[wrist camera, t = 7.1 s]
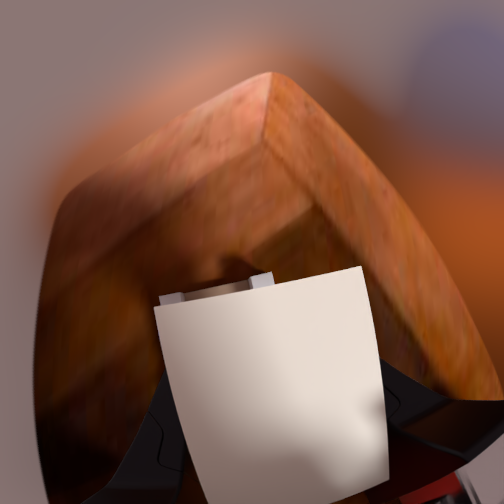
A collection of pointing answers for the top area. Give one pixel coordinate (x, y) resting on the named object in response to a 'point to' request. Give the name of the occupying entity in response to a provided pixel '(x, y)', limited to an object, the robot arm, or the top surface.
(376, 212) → the top surface
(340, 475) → the white rectangular block
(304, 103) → the top surface
